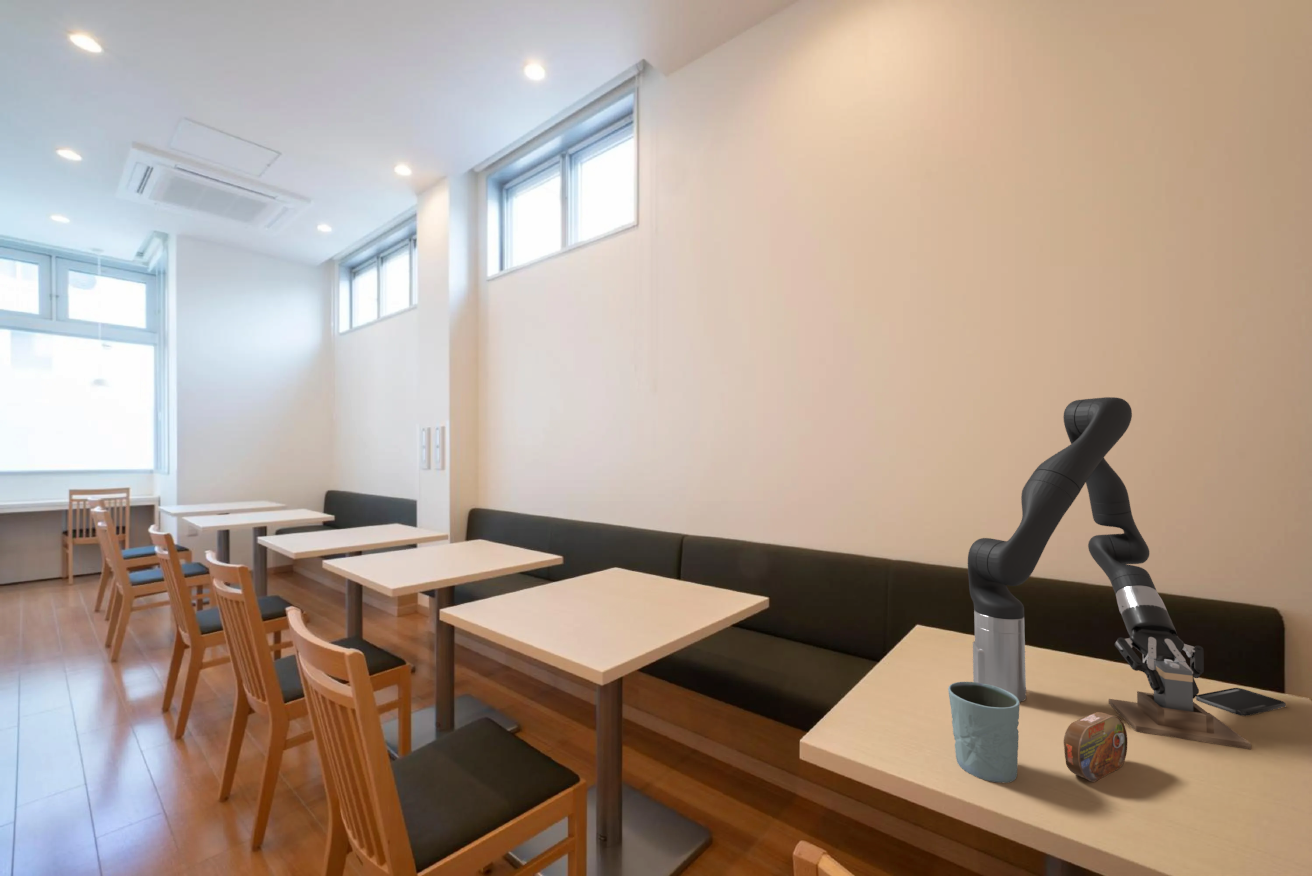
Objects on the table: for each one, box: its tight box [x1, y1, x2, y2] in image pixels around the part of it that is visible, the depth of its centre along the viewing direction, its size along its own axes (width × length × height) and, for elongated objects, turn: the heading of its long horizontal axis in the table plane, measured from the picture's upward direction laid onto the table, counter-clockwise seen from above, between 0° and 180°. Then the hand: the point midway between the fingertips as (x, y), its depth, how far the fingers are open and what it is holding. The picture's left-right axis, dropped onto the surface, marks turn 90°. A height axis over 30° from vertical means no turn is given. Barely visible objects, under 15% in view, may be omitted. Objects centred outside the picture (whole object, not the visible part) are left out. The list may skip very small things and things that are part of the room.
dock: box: [1108, 690, 1252, 750], centre depth 101 cm, size 16×12×4 cm
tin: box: [1063, 711, 1128, 783], centre depth 86 cm, size 15×3×8 cm, turn 116°
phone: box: [1195, 687, 1287, 717], centre depth 110 cm, size 8×1×15 cm
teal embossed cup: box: [947, 681, 1021, 784], centre depth 87 cm, size 10×10×12 cm
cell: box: [1153, 659, 1194, 712], centre depth 101 cm, size 4×5×10 cm
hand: (1176, 694), depth 100 cm, fingers closed on cell, 4 cm apart
